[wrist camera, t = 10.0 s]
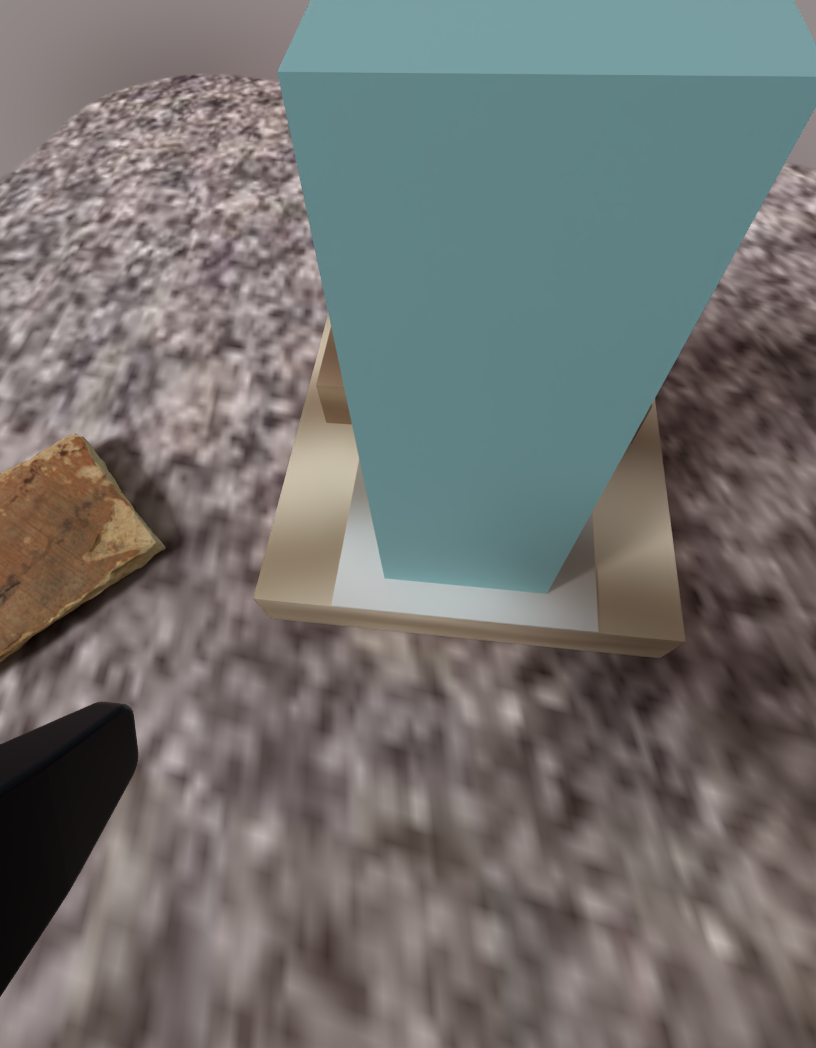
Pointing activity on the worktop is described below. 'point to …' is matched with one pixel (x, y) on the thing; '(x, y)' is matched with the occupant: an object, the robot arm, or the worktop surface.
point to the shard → (62, 538)
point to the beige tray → (461, 611)
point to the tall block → (525, 241)
